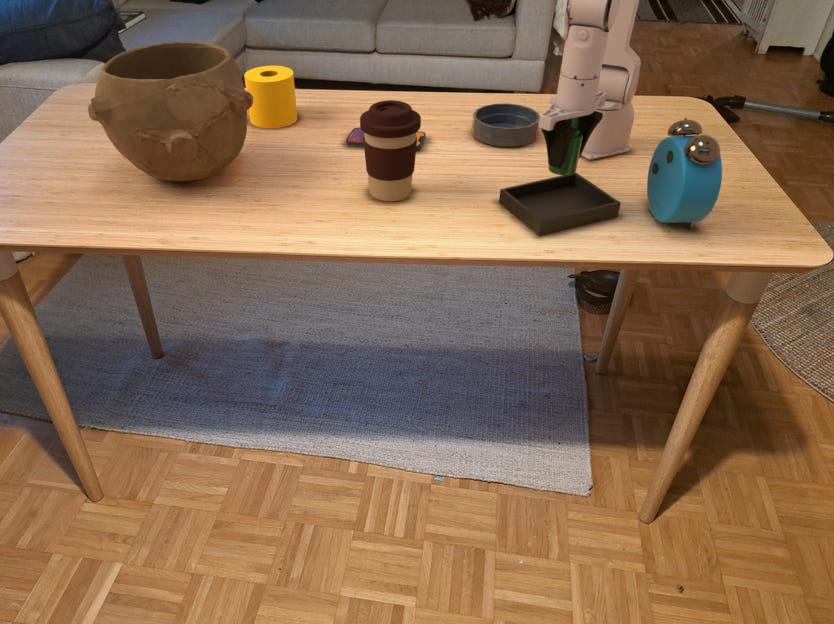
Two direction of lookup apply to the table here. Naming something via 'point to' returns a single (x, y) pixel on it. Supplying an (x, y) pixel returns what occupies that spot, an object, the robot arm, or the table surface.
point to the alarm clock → (684, 175)
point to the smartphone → (358, 136)
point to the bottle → (570, 152)
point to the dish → (505, 124)
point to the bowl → (173, 108)
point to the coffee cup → (390, 148)
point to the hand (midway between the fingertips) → (564, 161)
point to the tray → (558, 203)
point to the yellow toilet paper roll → (271, 96)
